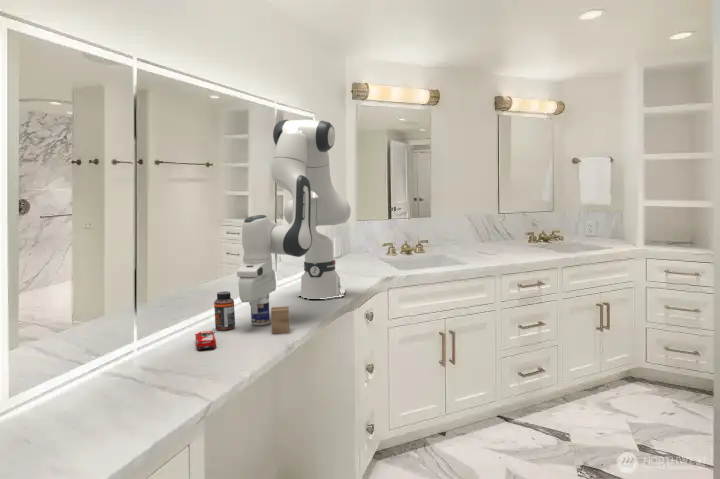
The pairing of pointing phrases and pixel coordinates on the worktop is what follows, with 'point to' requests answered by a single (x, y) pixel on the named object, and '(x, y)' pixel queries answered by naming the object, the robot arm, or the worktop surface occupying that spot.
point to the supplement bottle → (224, 311)
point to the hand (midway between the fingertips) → (260, 310)
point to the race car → (205, 340)
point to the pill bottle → (261, 311)
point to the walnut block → (280, 320)
